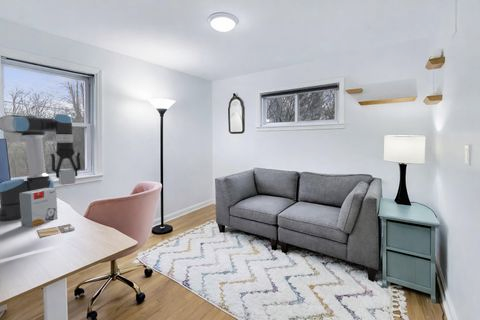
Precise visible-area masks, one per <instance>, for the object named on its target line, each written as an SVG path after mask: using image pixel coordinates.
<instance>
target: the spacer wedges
mask: <svg viewBox="0 0 480 320" xmlns="http://www.w3.org/2000/svg"><path fill="white" fill-rule="evenodd" d="M71 226H72V227H70V231H69V228H68V227H67V228H64V231H65V232H64V233H67V231H68V232H71V230H72V231H76V228H75V226H74V225H71Z"/></svg>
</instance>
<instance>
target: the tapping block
mask: <svg viewBox="0 0 480 320" xmlns="http://www.w3.org/2000/svg"><path fill="white" fill-rule="evenodd" d="M59 172H61V184H60V185H62V186H63V185H71V184H75V183H76V182H75V177H76V176H74V169H73V168H60V170H59Z"/></svg>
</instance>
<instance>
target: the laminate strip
mask: <svg viewBox="0 0 480 320" xmlns="http://www.w3.org/2000/svg"><path fill="white" fill-rule="evenodd" d="M72 226H73V225H72V224H70V223H68V224H63V225H59V226H56V227H57V229H58V230H59V232H60V234H62V233H63V234H64V233H67V232H71V231H73V230H71V231H70V227H72ZM67 227H68V228H69V231H67V232H65V231H64V228H67Z"/></svg>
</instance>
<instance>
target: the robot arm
mask: <svg viewBox="0 0 480 320" xmlns="http://www.w3.org/2000/svg"><path fill="white" fill-rule="evenodd" d="M72 119H73V118H72V116H71V115H70V114H66V113H65V114H64V113H63V114H61V113H59V114H58V113H56V114H54V118H49V117H48V118H47V117H41V116H37V115H36V116H35V115H21V114H20V115H17V114H7V115H3V116H0V130H1V131H3V132H6V133H10V134H20V135H21V137H22V139H24V140H25V148H26V158H27V165H28V173H29V175H28V176H27V177H26V180H25V179H24V178H17V179H16V178H15V179H11V180H6V181H3V182H0V220H2V221H5V222H6V221H14V220H19V219H21V211H20V197H19V193H22V192H27V191H33V190H38V189H43V188H55V187H54V186H55V182H54V178H52V177H50V175H49V174H48V173H47V172H46V171H47V170H46V162H45V155H44V145H43V138H44V137H45V134H47V133H48V132H52V133H55V141H56V152H53V153H52V152H51V153H50V157H51V172H54V173H55V178H56V179H58V184H60V185H62V184H61V172H59V170H60V169H61V167H62V163H63V161H64V159H66V160H67V159H68V160H69V161H70V164H71V166H72V169H74V176H75V183H76V178H77V177H78V171H79V170H81V169H82V167H81V160H80V159H81V158H80V155H81V153H80V152H77V151H75V150H74V138H73V120H72ZM73 156H75V161H76V164H75V161H74V158H73ZM56 157H59V158H58V162H57V165H56Z"/></svg>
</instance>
